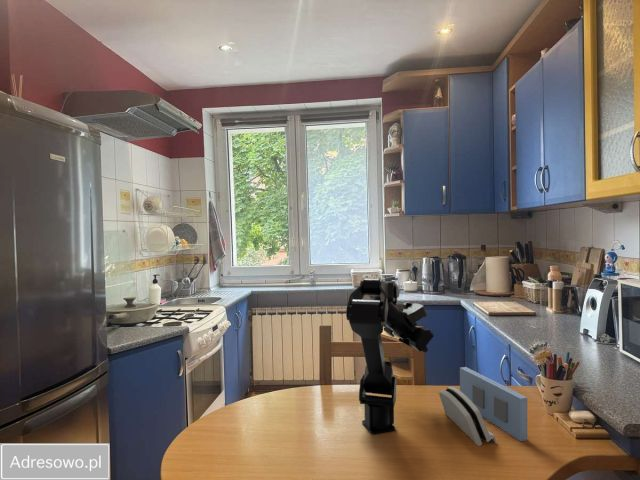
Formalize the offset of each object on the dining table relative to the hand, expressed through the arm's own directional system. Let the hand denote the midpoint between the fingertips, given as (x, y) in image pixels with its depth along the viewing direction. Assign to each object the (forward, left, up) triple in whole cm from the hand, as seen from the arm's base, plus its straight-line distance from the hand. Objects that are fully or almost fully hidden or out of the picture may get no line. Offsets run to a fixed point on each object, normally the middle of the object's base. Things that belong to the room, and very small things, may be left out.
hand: (425, 350), depth 117 cm
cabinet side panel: (+8, -18, -14) cm, 24 cm away
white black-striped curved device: (-1, -19, -14) cm, 24 cm away
